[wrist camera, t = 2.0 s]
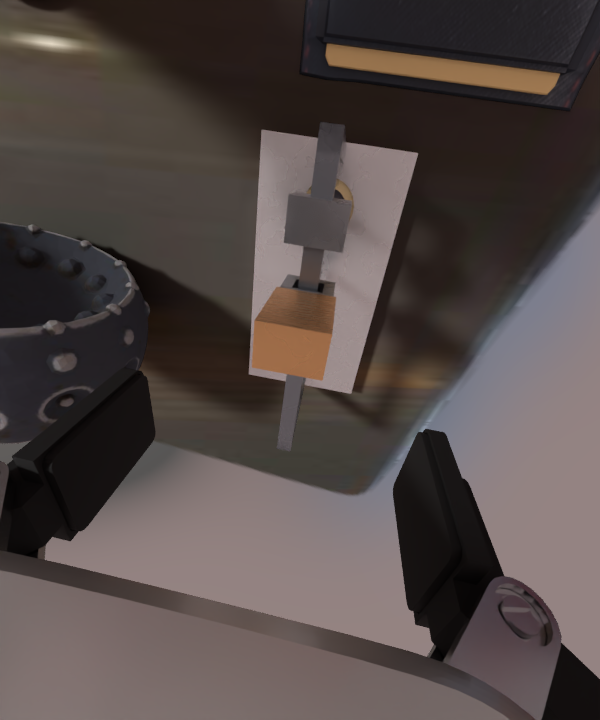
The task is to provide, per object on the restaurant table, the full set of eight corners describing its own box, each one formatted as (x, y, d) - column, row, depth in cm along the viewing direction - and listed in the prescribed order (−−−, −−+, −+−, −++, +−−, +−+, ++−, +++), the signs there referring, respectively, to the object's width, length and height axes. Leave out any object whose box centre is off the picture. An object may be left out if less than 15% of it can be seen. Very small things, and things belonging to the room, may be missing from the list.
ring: (-1, 197, 30) (-441, 225, 13) (191, 276, 32) (12, 390, 15) (14, 293, 36) (-283, 398, 19) (176, 356, 38) (34, 505, 21)
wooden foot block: (299, 251, 27) (254, 320, 14) (340, 258, 26) (332, 334, 14) (295, 280, 28) (251, 367, 15) (334, 287, 28) (322, 380, 15)
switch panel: (266, 131, 25) (204, 99, 14) (414, 154, 24) (465, 137, 14) (252, 367, 37) (213, 444, 26) (350, 386, 36) (351, 472, 26)
